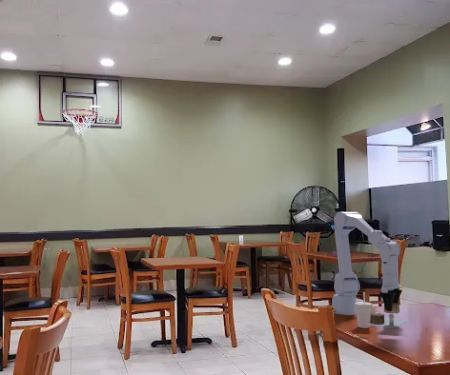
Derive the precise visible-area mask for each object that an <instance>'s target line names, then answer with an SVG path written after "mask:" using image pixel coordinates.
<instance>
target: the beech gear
mask: <svg viewBox="0 0 450 375" xmlns="http://www.w3.org/2000/svg"><path fill="white" fill-rule="evenodd" d="M383 313H386V314H393V315H394V314H399V313H400V304H399V303H398V304H396V303H393V307H392V311H386V310H385V306H384V305H383Z"/></svg>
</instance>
